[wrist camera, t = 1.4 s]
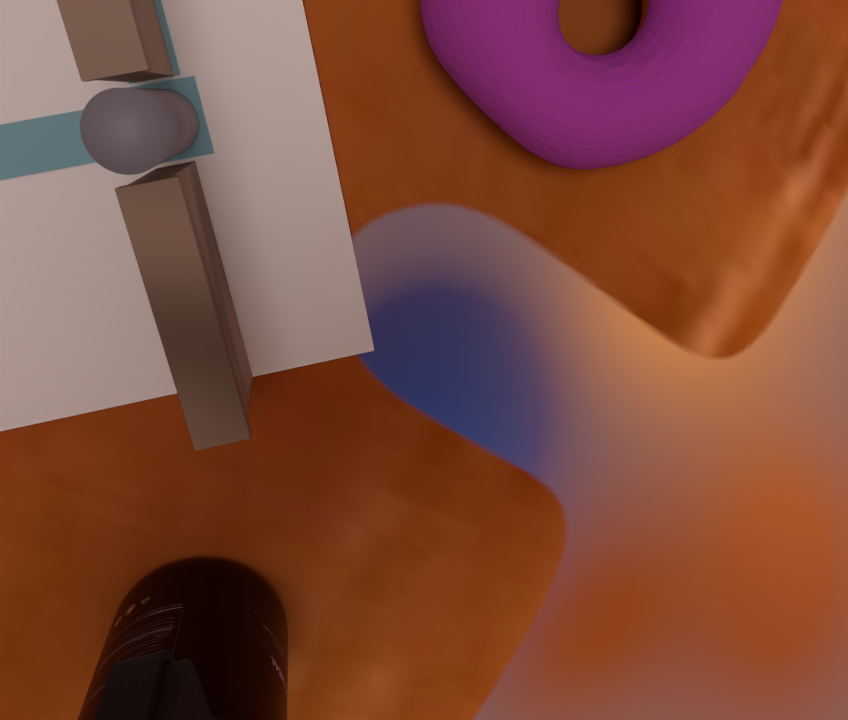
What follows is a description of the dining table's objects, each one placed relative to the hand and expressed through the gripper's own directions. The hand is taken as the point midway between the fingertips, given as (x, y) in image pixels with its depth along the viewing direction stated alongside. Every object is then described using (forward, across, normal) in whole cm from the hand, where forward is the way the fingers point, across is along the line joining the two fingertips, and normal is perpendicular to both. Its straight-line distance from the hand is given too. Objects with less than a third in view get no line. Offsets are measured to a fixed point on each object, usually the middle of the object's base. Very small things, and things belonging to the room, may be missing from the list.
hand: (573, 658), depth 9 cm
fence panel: (+19, +6, -1) cm, 20 cm away
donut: (+21, -8, -8) cm, 24 cm away
